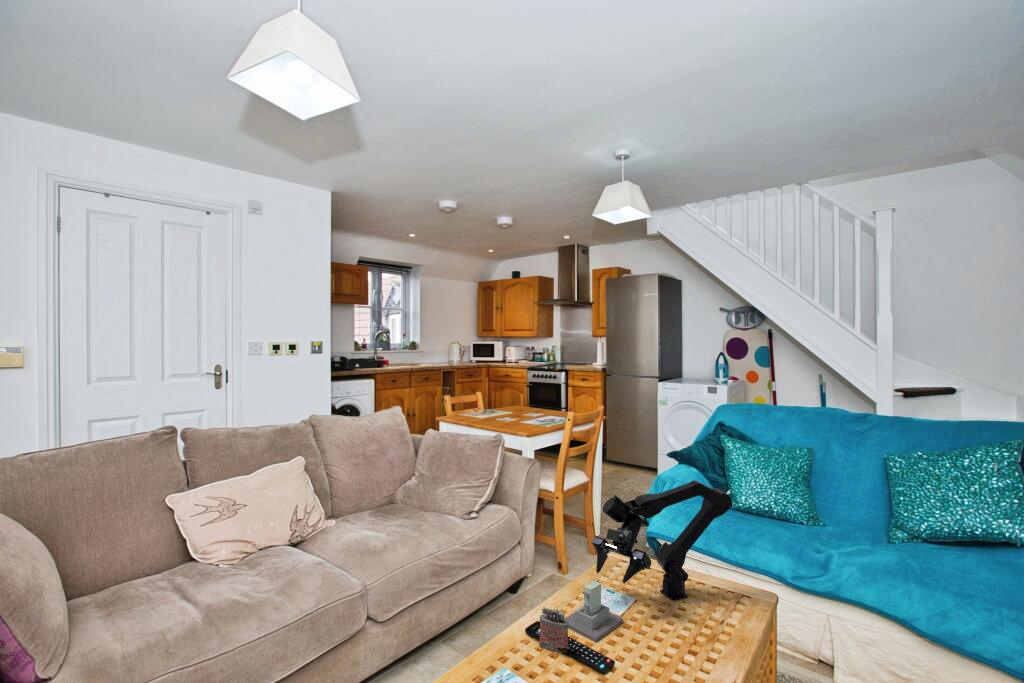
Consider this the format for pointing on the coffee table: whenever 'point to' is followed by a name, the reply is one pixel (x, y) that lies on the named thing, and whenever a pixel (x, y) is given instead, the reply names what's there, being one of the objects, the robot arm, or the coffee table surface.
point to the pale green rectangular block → (592, 598)
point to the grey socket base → (593, 623)
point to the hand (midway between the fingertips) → (610, 577)
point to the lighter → (553, 630)
